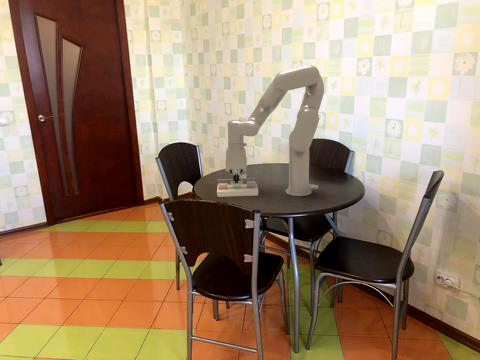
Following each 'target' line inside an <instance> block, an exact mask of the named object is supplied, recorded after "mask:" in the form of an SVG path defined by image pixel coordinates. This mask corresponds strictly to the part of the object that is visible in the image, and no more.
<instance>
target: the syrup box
mask: <svg viewBox="0 0 480 360" xmlns="http://www.w3.org/2000/svg"><path fill="white" fill-rule="evenodd" d="M246 167H247V168H248V158H247V156H246ZM234 170H235V173H236V174H237V171H238V169H234ZM242 178H248V170H247V171H243V172H242V173H241V174H240V175H239V179H242Z"/></svg>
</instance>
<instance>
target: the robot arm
mask: <svg viewBox="0 0 480 360" xmlns="http://www.w3.org/2000/svg"><path fill="white" fill-rule="evenodd" d="M323 80H324V79H323V76H321V74H320V70H319V69H318V67H316V66H315V65H311V64H310V65H304V66H300V67H297V68H293V69H289V70H283V71H279V72H278V73H277V74H276V75H275V76H274V78H273V79H272V81H271V82H270V84H269V86H268V87H267V88H266V90H265V91H264V92H263V94H262V96H261V97H260V99H259V101H258V103H257V105H256V106H255V108H254V109H253V111H252V112H251V114H250V116H249V117H248V118H247V120H245V121H244V120H243V121H242V120H240V119H231V120H229V121H227V148H226V151H225V169H224V171H226V172H228V173H230V174H231V175H232V179H233V181H235V183H236V182H237V183H238V181H239V175H240V174H241V173H242V172H243V171H247V172H248V166H247V167H246V157H247V152H246V148H245V147H247V142H246V143H245V142H244V137H251V138H252V137H255V136H257V135H258V133H259V131H260V129H261V127H262V126H263V125H264V123H265V122H266V121H267V119H268V117H270V115H271V114H272V113H273V112H274V111H275V110H276V109H277V107H278V106H279V104H280V103H281V102H282V100H283V98H284V97H285V96H286V94H287V93H288V91H293V90H296V89H302V88H305V89H304V93H303V98H302V101H301V104H300V106H299V109H298V111H297V114H296V121H295V124H294V128H293V130H292V131H290V133H289V135H288V136H289V138H288V151H289V152H288V187H287V188H286V189H285V194H286V195H289V196H293V197H305V196H306V197H307V196H310V195H311V194H312V190H318V189H319V185H318V184H316V185H315V184H310V183H309V181H310V180H309V179H310V177H309V174H310V171H309V170H310V147H311V145H312V142H313V140H314V137H315V134H316V131H317V128H318V125H319V121H320V115H319V110H320V107H321V106H322V105H321V104H322V102H323V98H324V94H325V83H324V81H323ZM234 169H238V171H237V174H236V173H235V170H234Z"/></svg>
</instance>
